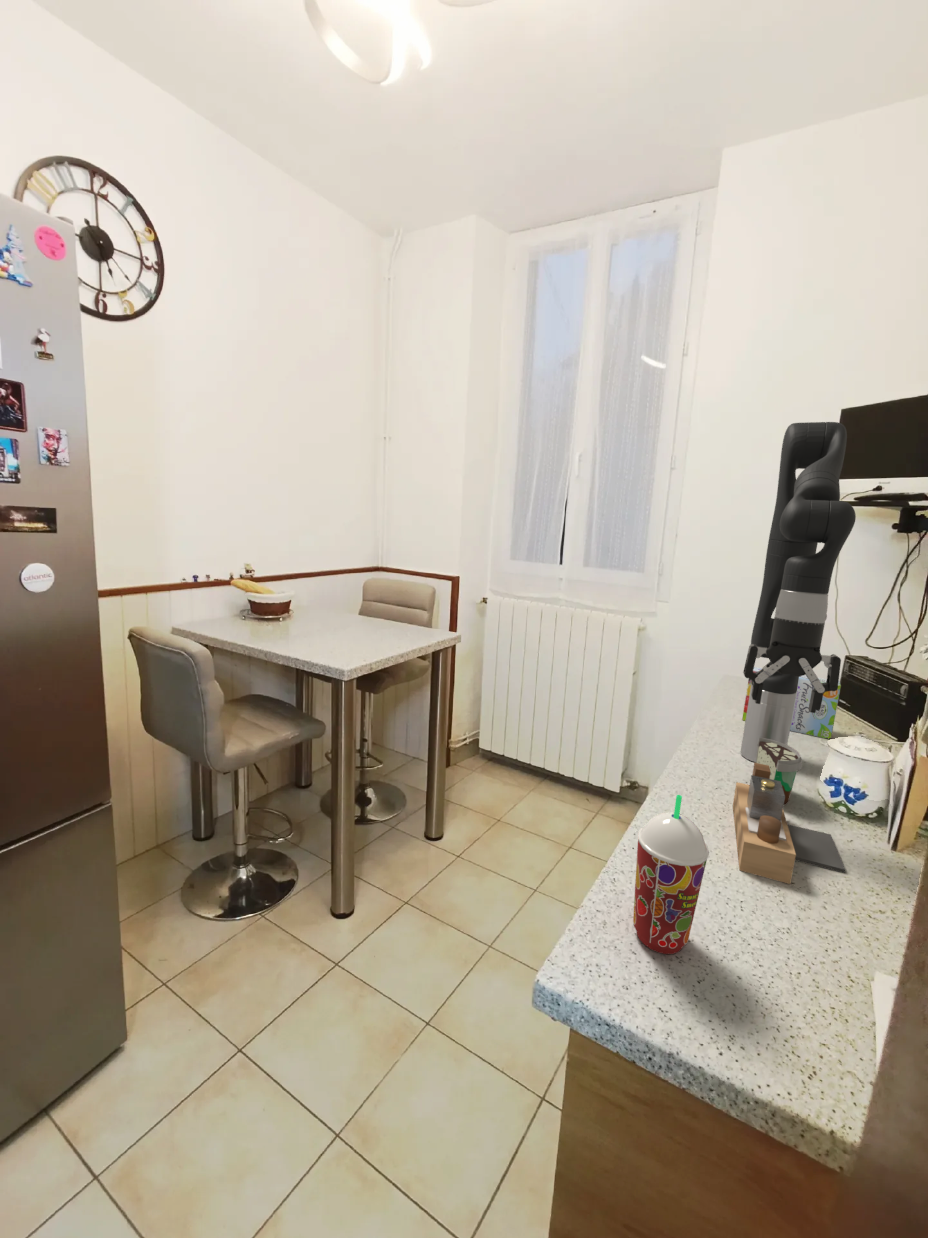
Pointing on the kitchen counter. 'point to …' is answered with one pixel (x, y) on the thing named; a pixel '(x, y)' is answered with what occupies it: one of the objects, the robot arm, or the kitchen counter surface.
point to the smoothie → (668, 880)
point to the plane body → (762, 837)
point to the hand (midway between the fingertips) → (783, 707)
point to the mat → (815, 848)
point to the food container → (779, 762)
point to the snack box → (802, 717)
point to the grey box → (765, 798)
